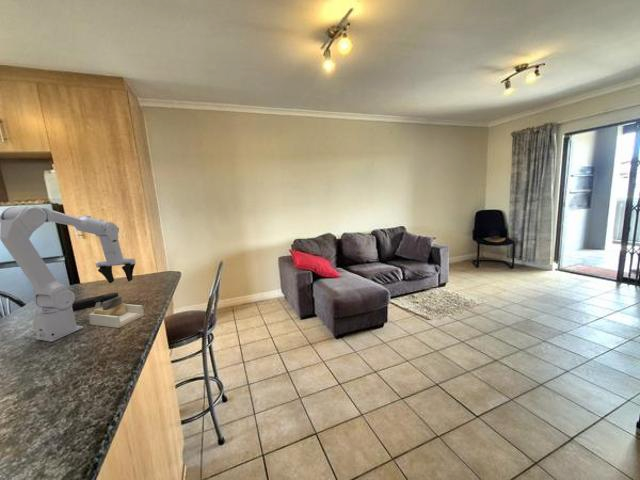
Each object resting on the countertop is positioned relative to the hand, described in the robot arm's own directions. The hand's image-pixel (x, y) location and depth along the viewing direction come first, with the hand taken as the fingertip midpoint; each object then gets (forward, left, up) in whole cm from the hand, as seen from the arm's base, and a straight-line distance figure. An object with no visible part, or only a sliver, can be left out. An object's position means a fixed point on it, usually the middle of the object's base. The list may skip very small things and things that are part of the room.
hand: (121, 281), depth 114 cm
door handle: (-5, +14, -11) cm, 19 cm away
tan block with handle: (-12, -8, -9) cm, 17 cm away
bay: (-12, -11, -11) cm, 19 cm away
